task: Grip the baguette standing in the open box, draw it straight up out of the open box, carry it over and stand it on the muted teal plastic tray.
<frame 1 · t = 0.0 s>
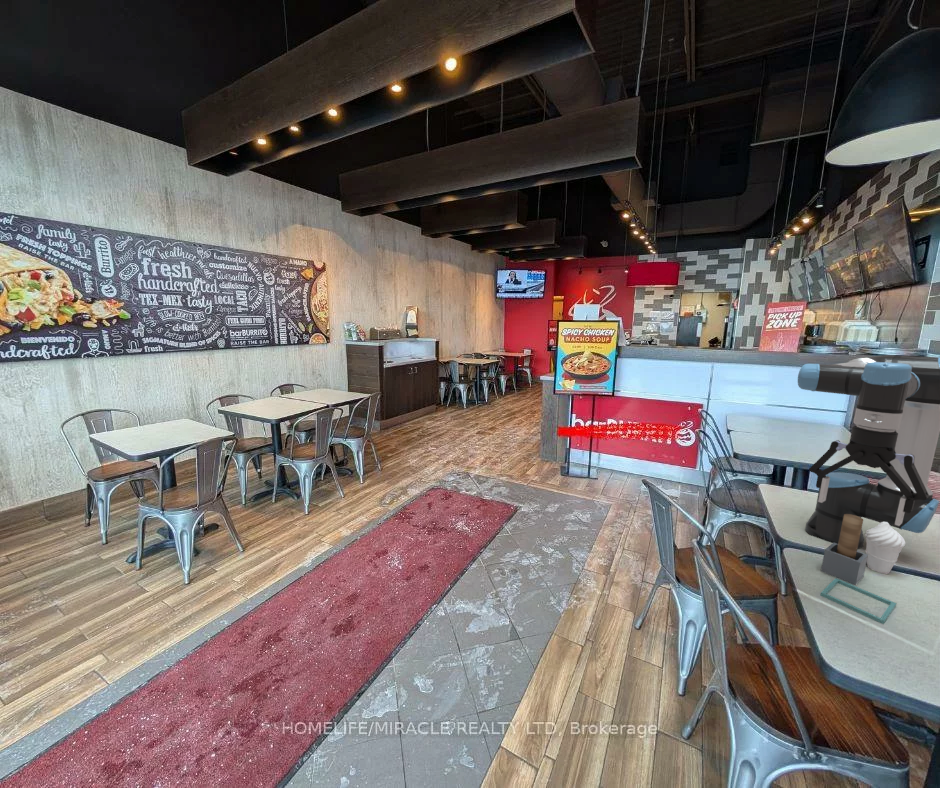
hand: (857, 511, 94), 28 cm above the table, fingers open, 13 cm apart
soft serve ice cream cone: (877, 572, 117), on the table
tray: (856, 603, 103), on the table
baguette: (841, 573, 114), point 1 cm above the table, touching open box
open box: (841, 576, 114), on the table
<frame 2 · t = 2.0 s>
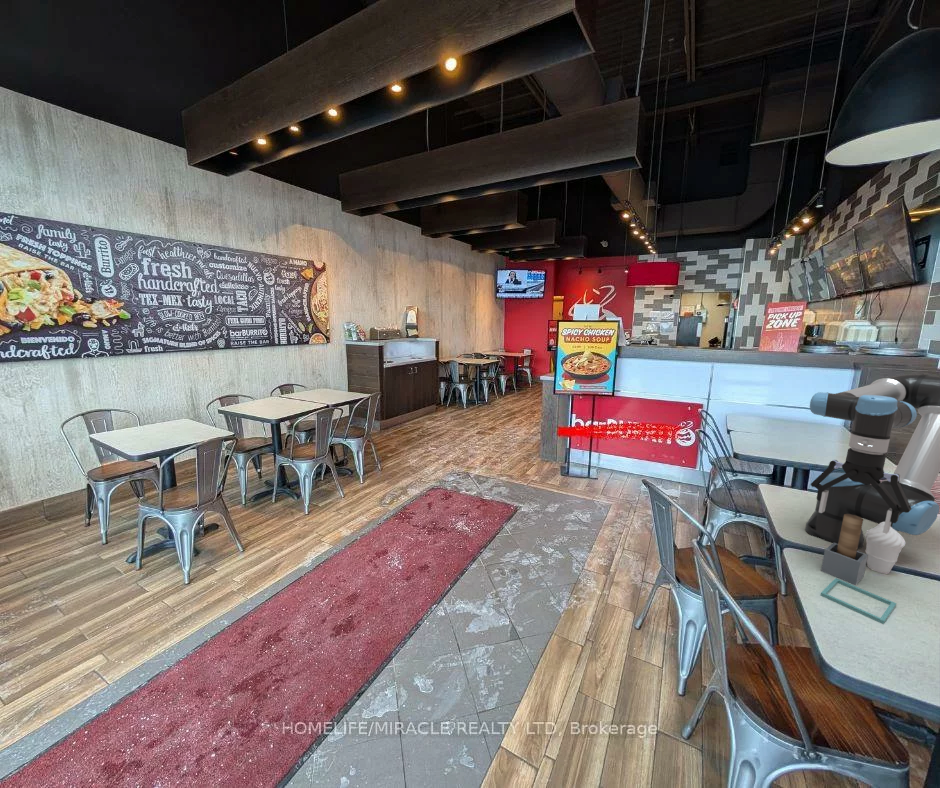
hand: (852, 521, 111), 18 cm above the table, fingers open, 13 cm apart
nothing on the table moved.
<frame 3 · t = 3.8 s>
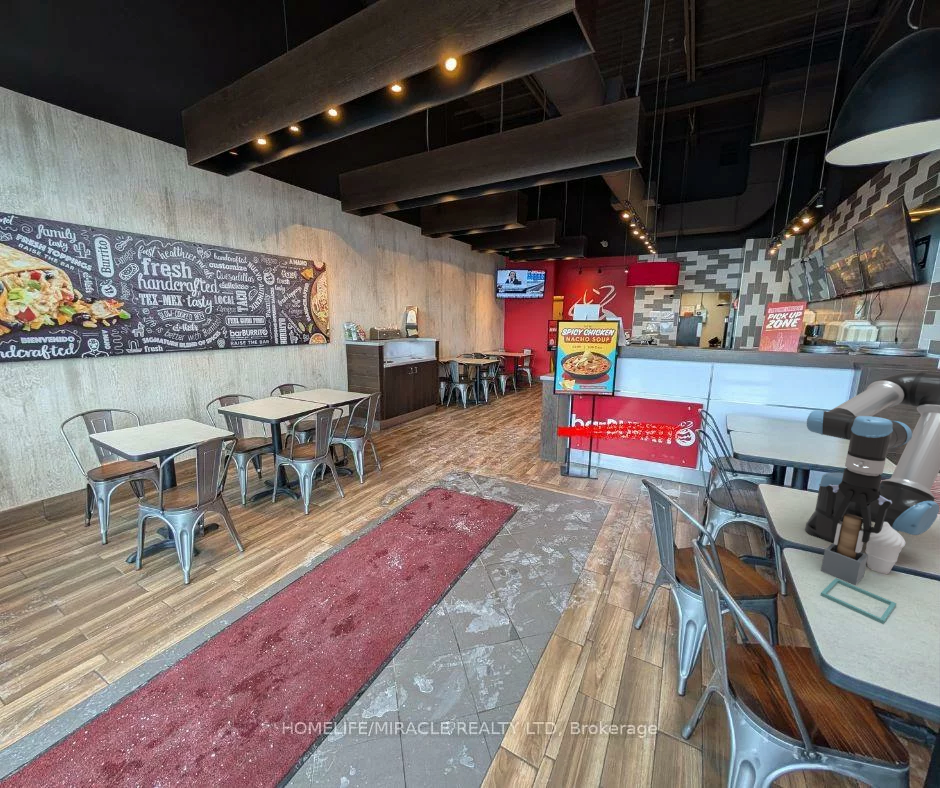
hand: (847, 547, 112), 10 cm above the table, fingers closed on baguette, 4 cm apart
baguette: (841, 573, 114), point 1 cm above the table, touching open box, gripper
everything else where it was.
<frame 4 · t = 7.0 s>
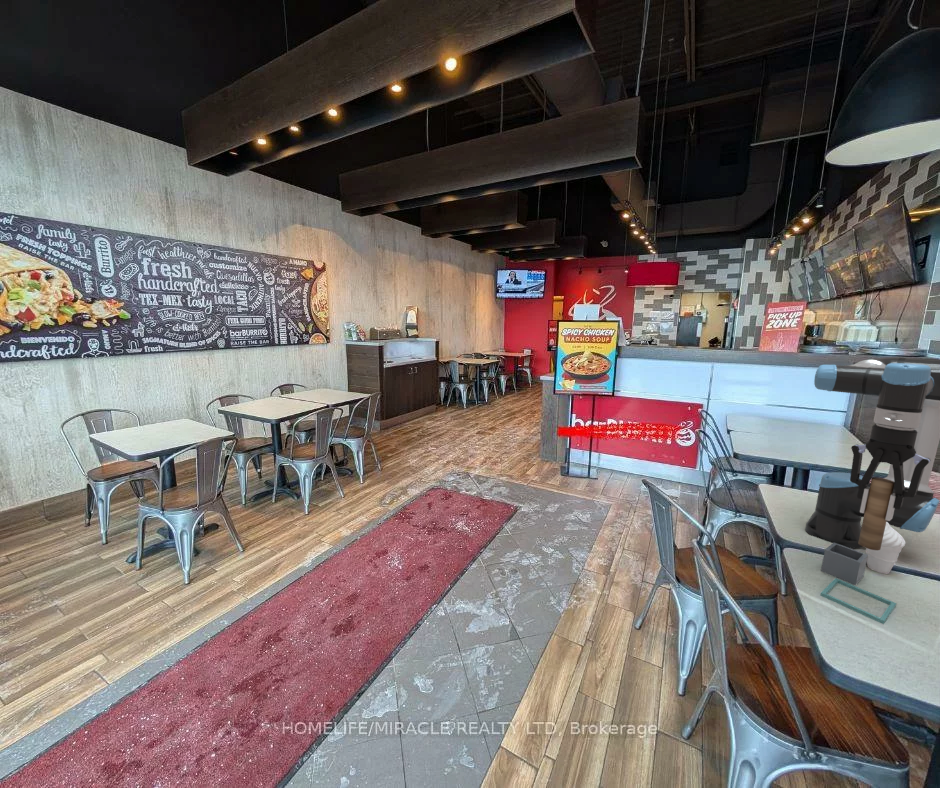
hand: (875, 515, 98), 26 cm above the table, fingers closed on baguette, 4 cm apart
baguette: (869, 545, 100), point 17 cm above the table, touching gripper
everything else where it was.
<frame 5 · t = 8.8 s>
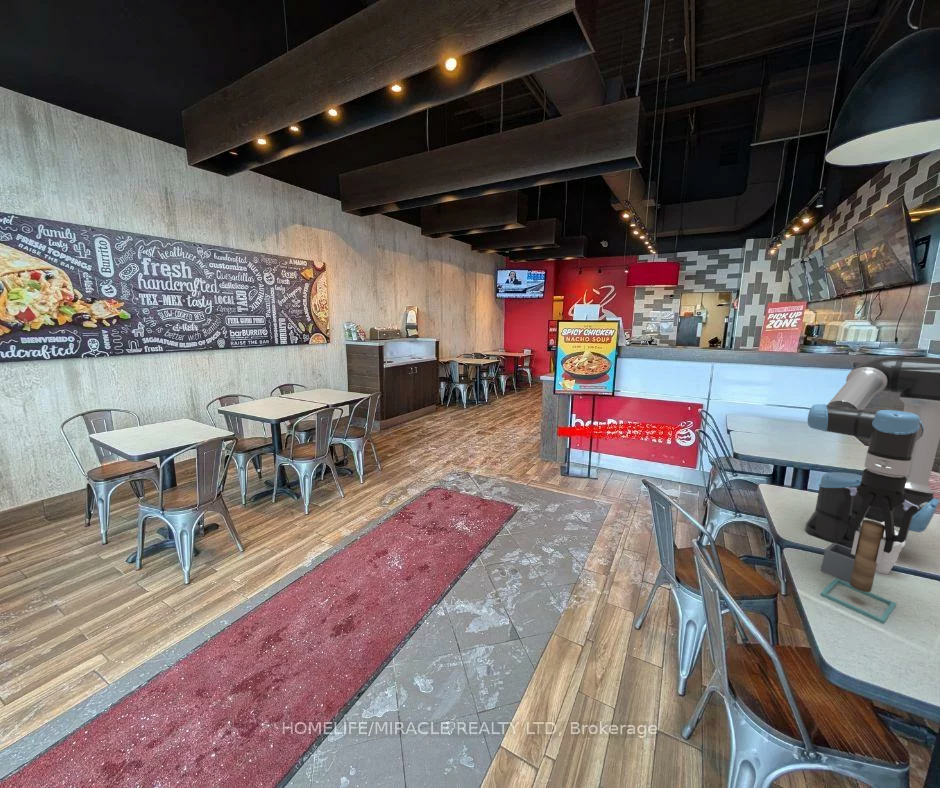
hand: (866, 557, 100), 14 cm above the table, fingers closed on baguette, 4 cm apart
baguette: (860, 586, 102), point 5 cm above the table, touching gripper
everything else where it was.
when the fingers open (11 cm above the table, at t = 10.2 s): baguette drops 1 cm, resting on tray.
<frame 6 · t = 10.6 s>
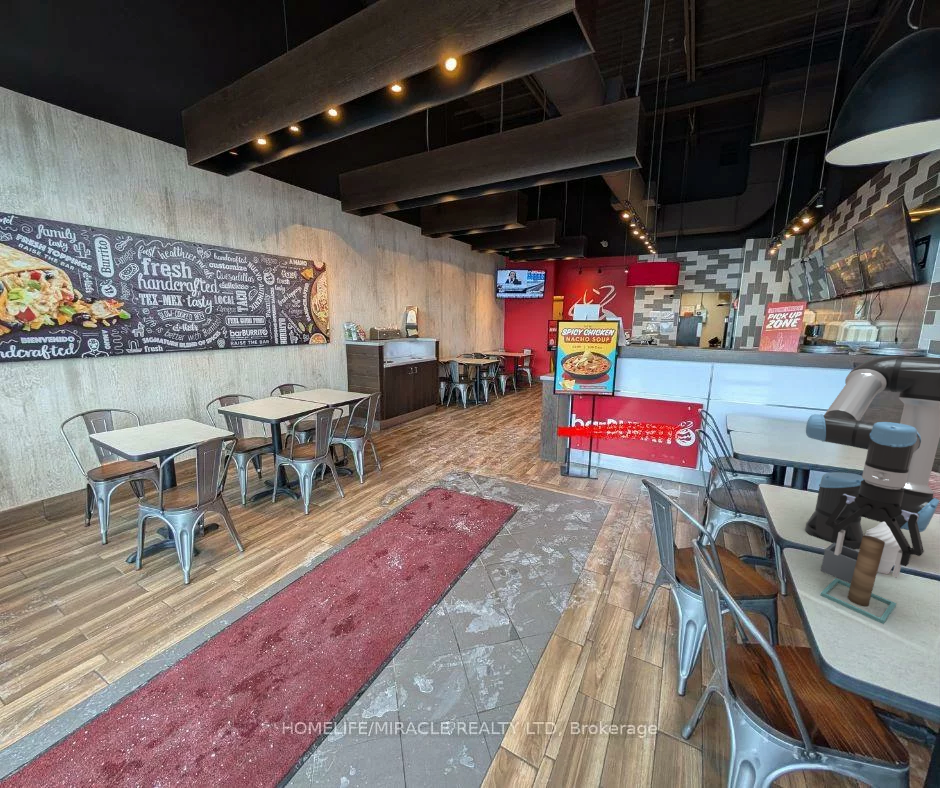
hand: (865, 563, 101), 12 cm above the table, fingers open, 10 cm apart
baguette: (857, 601, 102), point 1 cm above the table, touching tray
everything else where it was.
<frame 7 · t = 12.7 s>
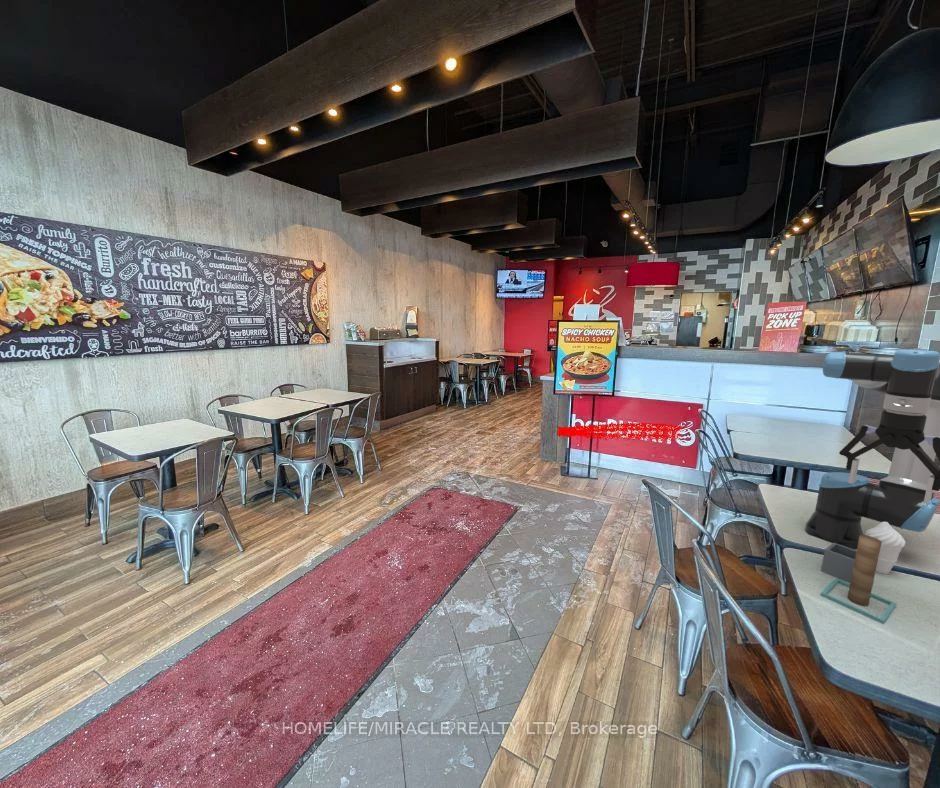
hand: (887, 491, 100), 31 cm above the table, fingers open, 13 cm apart
nothing on the table moved.
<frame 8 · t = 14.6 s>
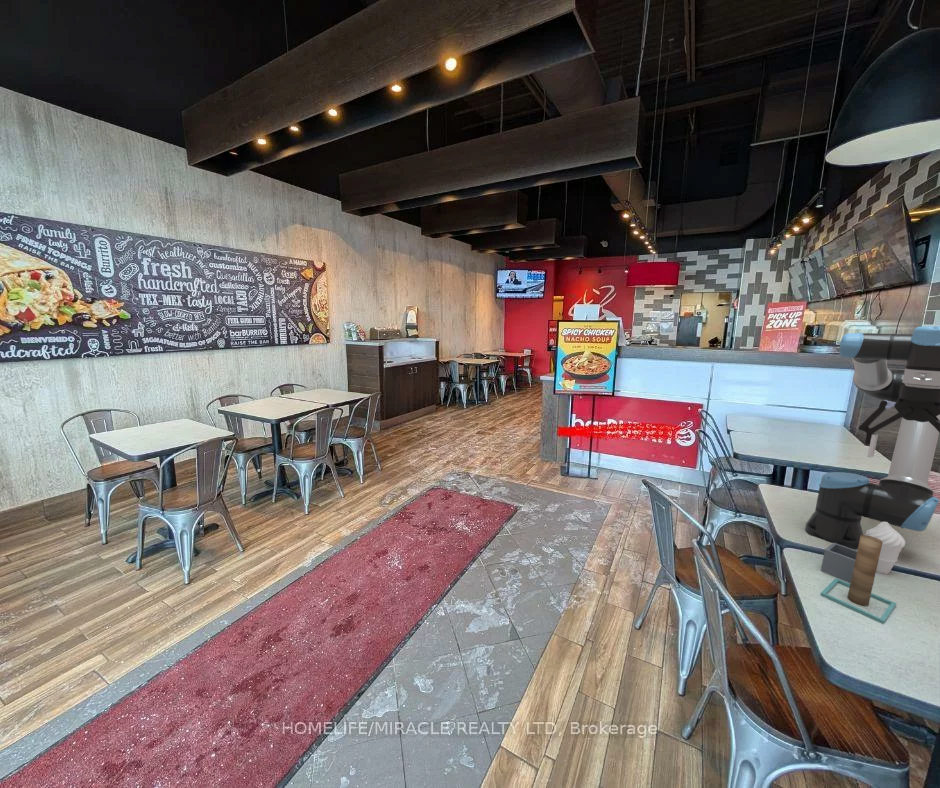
hand: (905, 463, 104), 37 cm above the table, fingers open, 13 cm apart
nothing on the table moved.
at the end: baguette inside the target area on the tray (0.1 cm from its centre), point 0.8 cm above the tray's base; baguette touching tray; the gripper is holding nothing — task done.
